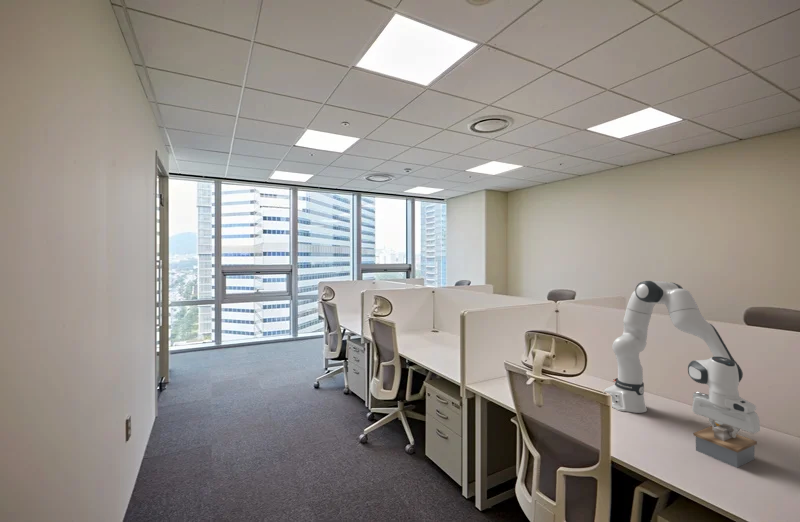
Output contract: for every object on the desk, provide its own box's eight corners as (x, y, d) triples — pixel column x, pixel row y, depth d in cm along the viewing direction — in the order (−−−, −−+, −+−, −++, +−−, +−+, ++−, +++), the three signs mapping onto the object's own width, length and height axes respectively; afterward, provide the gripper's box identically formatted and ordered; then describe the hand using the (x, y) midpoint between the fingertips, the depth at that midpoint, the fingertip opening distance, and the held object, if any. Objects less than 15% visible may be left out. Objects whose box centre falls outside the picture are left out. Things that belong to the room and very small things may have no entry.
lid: (693, 435, 141) (693, 423, 141) (712, 428, 147) (712, 416, 147) (737, 452, 128) (737, 439, 128) (756, 443, 134) (756, 431, 134)
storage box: (695, 452, 141) (695, 435, 141) (713, 445, 146) (713, 428, 146) (737, 470, 129) (736, 451, 129) (754, 461, 134) (754, 443, 134)
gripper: (688, 391, 146) (689, 424, 146) (753, 410, 127) (753, 448, 127) (697, 389, 148) (697, 421, 148) (762, 407, 129) (762, 444, 130)
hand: (724, 433), depth 138 cm, fingers open, 4 cm apart
